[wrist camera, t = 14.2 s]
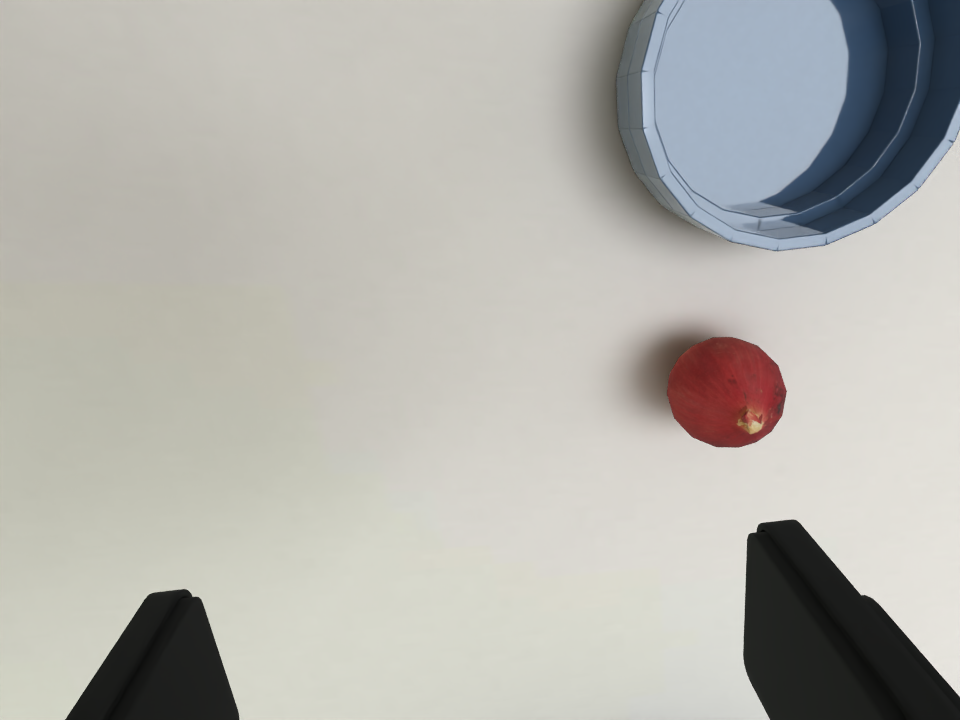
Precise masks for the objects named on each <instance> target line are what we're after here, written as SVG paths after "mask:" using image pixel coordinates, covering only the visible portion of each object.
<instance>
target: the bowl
mask: <svg viewBox="0 0 960 720" xmlns="http://www.w3.org/2000/svg"><path fill="white" fill-rule="evenodd" d="M616 85H617V111H618V128H619V132H620V134H621V137H622V140H623V143H624V146H625V148H626V151H627V154H628V157H629V160H630V162H631V165H632V168H633V170H634V171H635V174H636V175H637V176H638V177H639V179H640V180H641V181H642V182H643V184H644V185H645V186H646V187H647V189H648V190H649V191H650V192H651V194H652V195H653V196H654V197H655V199H656V200H657V201H658V202H659V204H661V205H662V206H663V207H664V208H666V209H668V210H669V211H671V212H672V213H674V214H676V215H677V216H679V217H681V218H682V219H684V220H686V221H687V222H689V223H691V224H692V225H694V226H696V227H698V228H700V229H702V230H705V231H707V232H709V233H711V234H713V235H716V236H718V237H720V238H723V239H725V240H727V241H730V242H733V243H738V244H743V245H748V246H752V247H757V248H762V249H767V250H772V251H784V250H792V249H801V248H809V247H817V246H825V245H828V244H830V243H832V242H835V241H837V240H839V239H842V238H844V237H846V236H849V235H851V234H853V233H856V232H858V231H860V230H863V229H865V228H867V227H869V226H872V225H874V224H876V223H877V222H878V221H880V220H881V219H882V218H883V217H885V216H886V215H887V214H888V213H890V212H891V211H892V210H893V209H895V208H896V207H897V206H898V205H900V204H901V203H902V202H904V201H905V200H906V199H907V198H909V197H910V196H911V195H912V194H914V193H915V192H916V191H917V190H918V189H919V188H920V187H921V186H922V184H923V183H924V182H925V180H926V179H927V178H928V176H929V175H930V174H931V172H932V171H933V170H934V169H935V167H936V166H937V165H938V163H939V162H940V161H941V159H942V158H943V157H944V155H945V154H946V153H947V151H948V150H949V149H950V148H951V146H952V145H953V142H955V140H956V137H957V135H958V133H959V130H960V0H644V2H643V3H642V5H641V7H640V9H639V10H638V12H637V14H636V16H635V17H634V19H633V21H632V23H631V24H630V27H629V29H628V33H627V37H626V41H625V45H624V49H623V53H622V57H621V61H620V65H619V69H618V73H617V79H616Z"/></svg>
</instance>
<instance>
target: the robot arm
mask: <svg viewBox="0 0 960 720" xmlns="http://www.w3.org/2000/svg"><path fill="white" fill-rule="evenodd" d="M743 656H744V664H745V668H746V672H747V675H748V677H749V680H750V682H751V684H752V686H753V688H754V689H755V691H756V693H757V695H758V697H759V699H760V701H761V703H762V705H763V707H764V709H765V711H766V713H767V714H768V716H769V718H770V720H960V697H959V696H958V695H957V693H956V692H955V691H954V690H953V689H952V688H951V686H950V685H949V684H948V683H947V682H946V681H945V680H944V678H943V677H942V676H941V675H940V674H939V673H938V672H937V670H936V669H935V668H934V667H933V666H932V665H931V664H930V662H929V661H928V660H927V659H926V658H925V657H924V655H923V654H922V653H921V652H920V651H919V650H918V649H917V647H916V646H915V645H914V644H913V643H912V642H911V641H910V639H909V638H908V637H907V636H906V635H905V634H904V632H903V631H902V630H901V629H900V628H899V627H898V626H897V624H896V623H895V622H894V621H893V620H892V619H891V618H890V616H889V615H888V614H887V613H886V612H885V611H884V610H883V608H882V607H881V606H880V605H879V604H878V603H877V602H876V601H875V600H873V599H872V598H870V597H868V596H866V595H862V596H861V595H860V593H859V592H858V591H857V590H856V589H855V588H854V586H853V585H852V584H851V583H850V582H849V581H848V579H847V578H846V577H845V576H844V575H843V573H842V572H841V571H840V570H839V569H838V568H837V566H836V565H835V564H834V563H833V562H832V561H831V559H830V558H829V557H828V556H827V555H826V553H825V552H824V551H823V550H822V549H821V548H820V546H819V545H818V544H817V543H816V542H815V541H814V539H813V538H812V537H811V536H810V535H809V533H808V532H807V531H806V530H805V529H804V528H803V526H802V525H801V524H800V523H799V522H798V521H797V520H784V521H775V522H766V523H761V524H759V525H758V527H757V533H750V534H749V535H748V539H747V563H746V593H745V622H744V652H743ZM65 720H239V713H238V709H237V706H236V703H235V700H234V697H233V694H232V691H231V688H230V685H229V682H228V679H227V676H226V673H225V670H224V667H223V663H222V660H221V657H220V654H219V651H218V648H217V645H216V642H215V639H214V636H213V633H212V630H211V627H210V624H209V621H208V618H207V615H206V612H205V609H204V606H203V603H202V601H201V599H200V598H199V597H192V595H191V593H190V592H189V591H188V590H185V589H182V590H173V591H165V592H156V593H152V594H149V595H148V596H147V598H146V599H145V600H144V602H143V603H142V605H141V606H140V608H139V609H138V611H137V612H136V614H135V615H134V617H133V618H132V620H131V621H130V623H129V624H128V626H127V627H126V629H125V630H124V632H123V633H122V635H121V636H120V638H119V639H118V641H117V642H116V644H115V645H114V647H113V648H112V650H111V651H110V653H109V654H108V656H107V657H106V659H105V660H104V662H103V664H102V665H101V667H100V668H99V670H98V671H97V673H96V674H95V676H94V677H93V679H92V680H91V682H90V683H89V685H88V686H87V688H86V689H85V691H84V692H83V694H82V695H81V697H80V698H79V700H78V701H77V703H76V704H75V706H74V707H73V709H72V710H71V712H70V713H69V715H68V716H67V718H66V719H65Z"/></svg>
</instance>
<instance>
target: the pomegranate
mask: <svg viewBox="0 0 960 720" xmlns="http://www.w3.org/2000/svg"><path fill="white" fill-rule="evenodd" d="M786 392H787V391H786V388H785V385H784V382H783V379H782V376H781V373H780V370H779V367H778V365H777V364H776V363H775V362H774V361H773V360H772V359H771V358H770V357H769V356H768V355H767V354H766V353H765V352H764V351H763V350H762V349H760V348H759V347H758V346H757V345H754V344H751V343H748V342H746V341H743V340H740V339H737V338H733V337H715V338H710V339H708V340H705V341H703V342H700V343H698V344H696V345H693V346H692V347H691V348H689V349H688V350H687V351H686V352H685V353H683V354H682V355H681V356H680V357H679V358H678V360H677V362H676V364H675V365H674V367H673V369H672V370H671V373H670V375H669V381H668V389H667V396H668V399H669V403H670V406H671V409H672V413H673V416H674V418H675V419H676V421H677V422H678V423H679V424H680V425H681V426H682V427H683V428H684V429H685V430H686V431H687V432H688V433H689V434H690V435H691V436H692V437H693V438H695V439H698V440H700V441H703V442H705V443H708V444H710V445H713V446H715V447H742V446H745V445H749V444H752V443H755V442H757V441H759V440H760V439H761V438H763V437H764V436H766V435H767V434H769V433H770V432H771V431H772V430H773V428H774V427H775V425H776V424H777V422H778V421H779V419H780V418H781V416H782V414H783V408H784V403H785V397H786Z"/></svg>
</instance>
